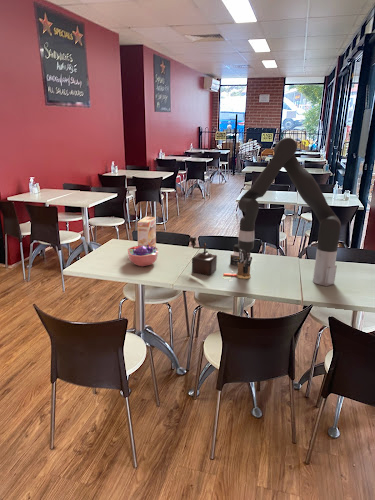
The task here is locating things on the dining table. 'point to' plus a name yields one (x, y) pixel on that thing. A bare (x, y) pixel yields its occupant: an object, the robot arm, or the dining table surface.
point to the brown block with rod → (240, 272)
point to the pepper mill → (203, 260)
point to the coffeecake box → (147, 231)
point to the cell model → (143, 255)
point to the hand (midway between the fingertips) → (244, 271)
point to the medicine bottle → (235, 256)
